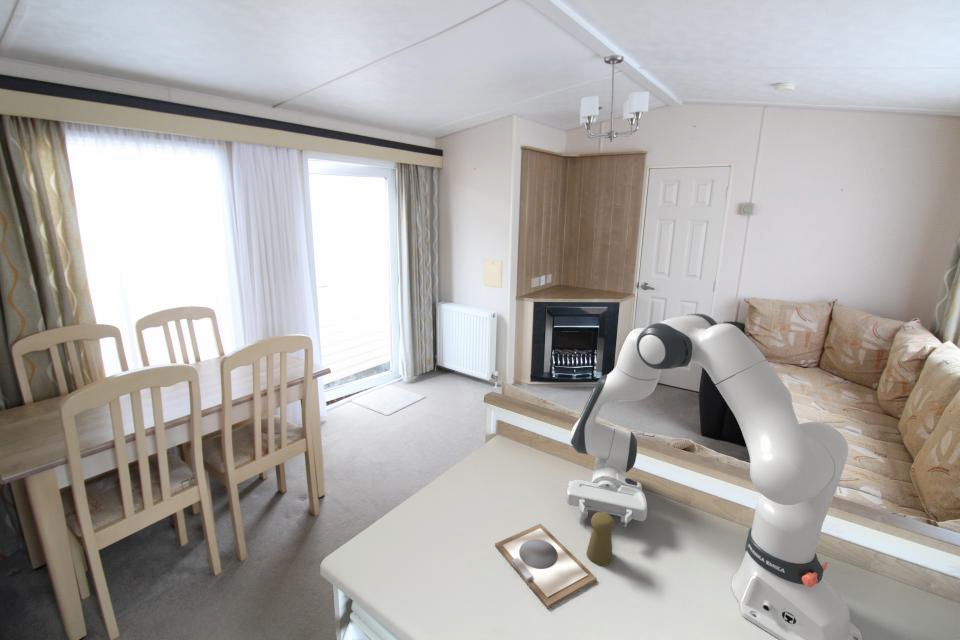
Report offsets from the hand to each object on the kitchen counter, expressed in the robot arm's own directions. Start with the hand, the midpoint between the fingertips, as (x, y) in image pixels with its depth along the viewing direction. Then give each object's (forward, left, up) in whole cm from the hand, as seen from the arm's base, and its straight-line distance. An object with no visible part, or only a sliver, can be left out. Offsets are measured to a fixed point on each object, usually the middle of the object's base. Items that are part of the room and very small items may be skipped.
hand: (603, 519), depth 111 cm
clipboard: (+1, +17, -6) cm, 18 cm away
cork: (-4, +4, -6) cm, 8 cm away
